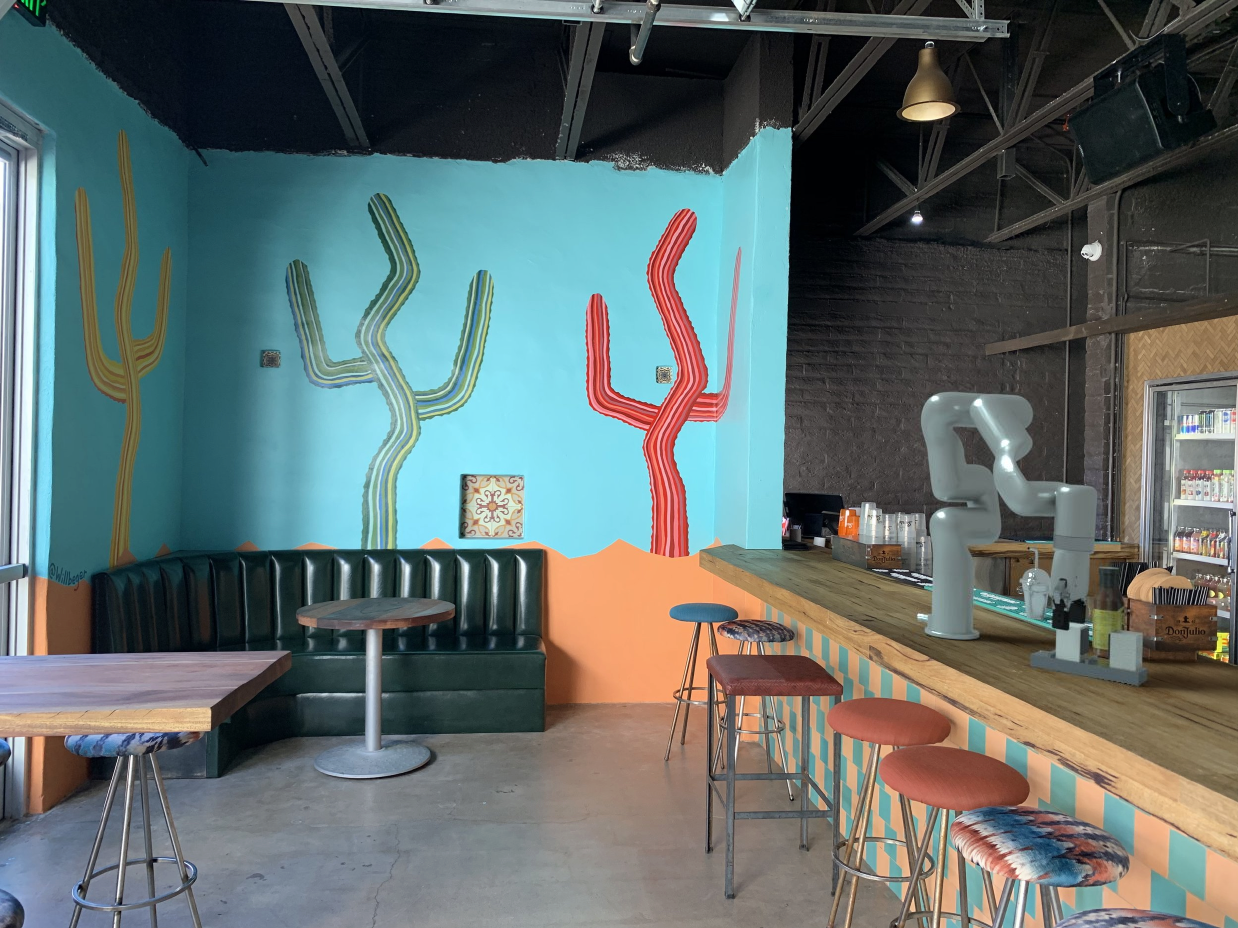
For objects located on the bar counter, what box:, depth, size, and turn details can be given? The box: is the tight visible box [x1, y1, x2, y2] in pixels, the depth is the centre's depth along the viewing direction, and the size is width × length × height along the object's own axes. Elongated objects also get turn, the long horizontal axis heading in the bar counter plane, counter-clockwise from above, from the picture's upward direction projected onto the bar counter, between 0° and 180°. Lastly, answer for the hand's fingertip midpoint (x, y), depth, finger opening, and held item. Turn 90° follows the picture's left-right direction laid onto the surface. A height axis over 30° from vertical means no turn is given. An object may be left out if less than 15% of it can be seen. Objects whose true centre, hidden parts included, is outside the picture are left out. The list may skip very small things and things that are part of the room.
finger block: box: [1055, 622, 1090, 662], centre depth 174 cm, size 5×4×7 cm
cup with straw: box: [1018, 547, 1051, 621], centre depth 232 cm, size 8×9×20 cm
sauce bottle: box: [1092, 566, 1126, 659], centre depth 188 cm, size 7×6×20 cm
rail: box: [1029, 630, 1148, 687], centre depth 172 cm, size 20×6×10 cm, turn 44°
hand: (1068, 625), depth 175 cm, fingers open, 9 cm apart
